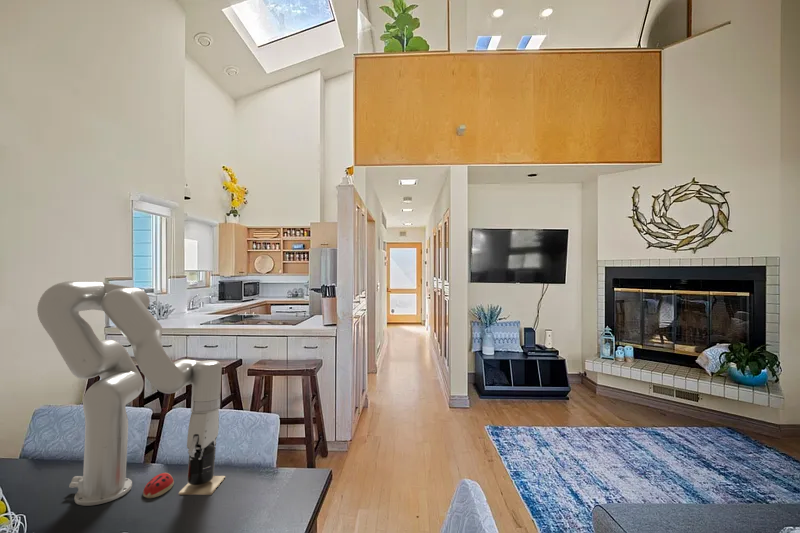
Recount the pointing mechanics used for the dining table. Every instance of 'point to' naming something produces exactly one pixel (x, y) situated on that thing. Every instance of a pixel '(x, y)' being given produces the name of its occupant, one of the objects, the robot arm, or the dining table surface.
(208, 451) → the supplement bottle
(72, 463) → the dining table surface
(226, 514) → the dining table surface
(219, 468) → the dining table surface
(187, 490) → the cork coaster
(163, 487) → the ladybug figurine
